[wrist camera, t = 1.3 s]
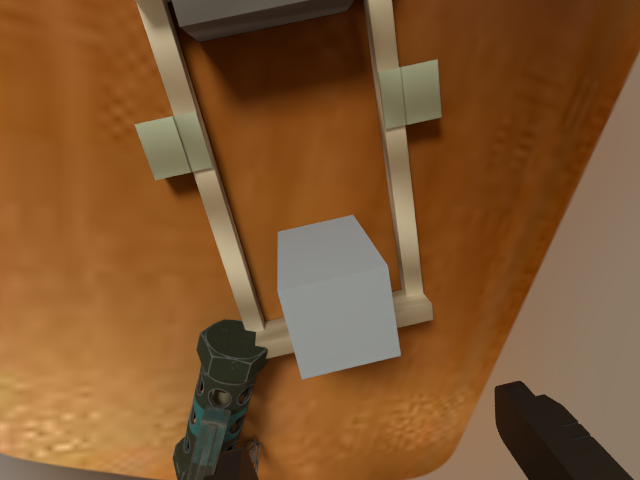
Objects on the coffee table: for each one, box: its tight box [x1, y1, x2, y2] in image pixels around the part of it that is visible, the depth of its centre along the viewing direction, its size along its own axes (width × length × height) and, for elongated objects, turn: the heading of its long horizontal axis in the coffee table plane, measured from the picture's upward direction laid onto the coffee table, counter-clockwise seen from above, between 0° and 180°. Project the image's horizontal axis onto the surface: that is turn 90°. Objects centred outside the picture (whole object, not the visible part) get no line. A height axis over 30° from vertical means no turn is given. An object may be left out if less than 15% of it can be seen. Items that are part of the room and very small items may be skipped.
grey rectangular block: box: [278, 215, 401, 379], centre depth 21 cm, size 5×5×8 cm
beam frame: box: [134, 0, 442, 359], centre depth 20 cm, size 22×16×4 cm
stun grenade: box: [173, 319, 269, 480], centre depth 25 cm, size 6×6×14 cm
